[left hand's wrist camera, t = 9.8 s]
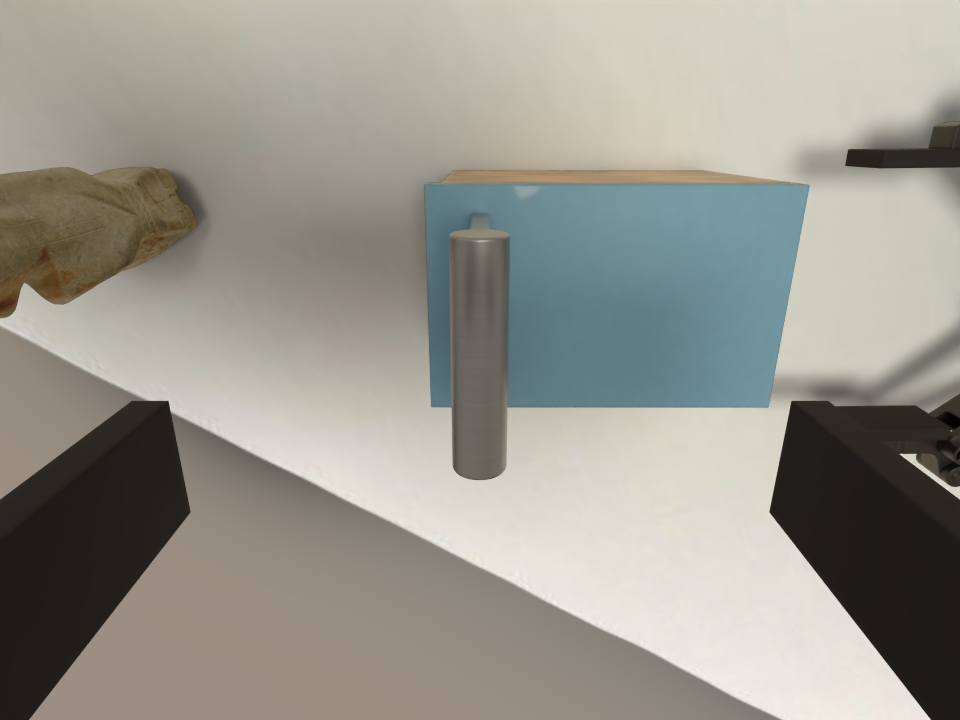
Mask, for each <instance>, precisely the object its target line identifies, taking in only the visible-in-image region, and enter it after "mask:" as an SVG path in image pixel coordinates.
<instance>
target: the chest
mask: <svg viewBox="0 0 960 720" xmlns="http://www.w3.org/2000/svg"><path fill="white" fill-rule="evenodd" d="M442 183H790V182H784V181H776V180H769V179H762V178H754V177H747V176H740V175H732V174H725V173H717V172H710V171H577V170H453V171H452V172H451V173H450V174H449V175H448V176H447V177H446V178H445V180H444V181H443V182H442Z"/></svg>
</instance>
